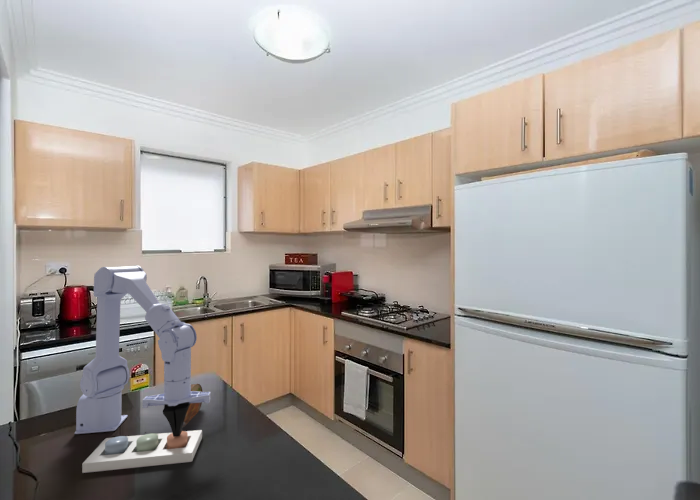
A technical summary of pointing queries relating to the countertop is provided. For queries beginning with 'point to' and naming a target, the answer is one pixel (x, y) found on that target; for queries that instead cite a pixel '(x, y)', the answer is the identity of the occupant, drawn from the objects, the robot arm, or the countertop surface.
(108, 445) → the slate button
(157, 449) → the button panel
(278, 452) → the countertop surface
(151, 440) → the sage button
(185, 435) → the terracotta button
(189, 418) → the tin
